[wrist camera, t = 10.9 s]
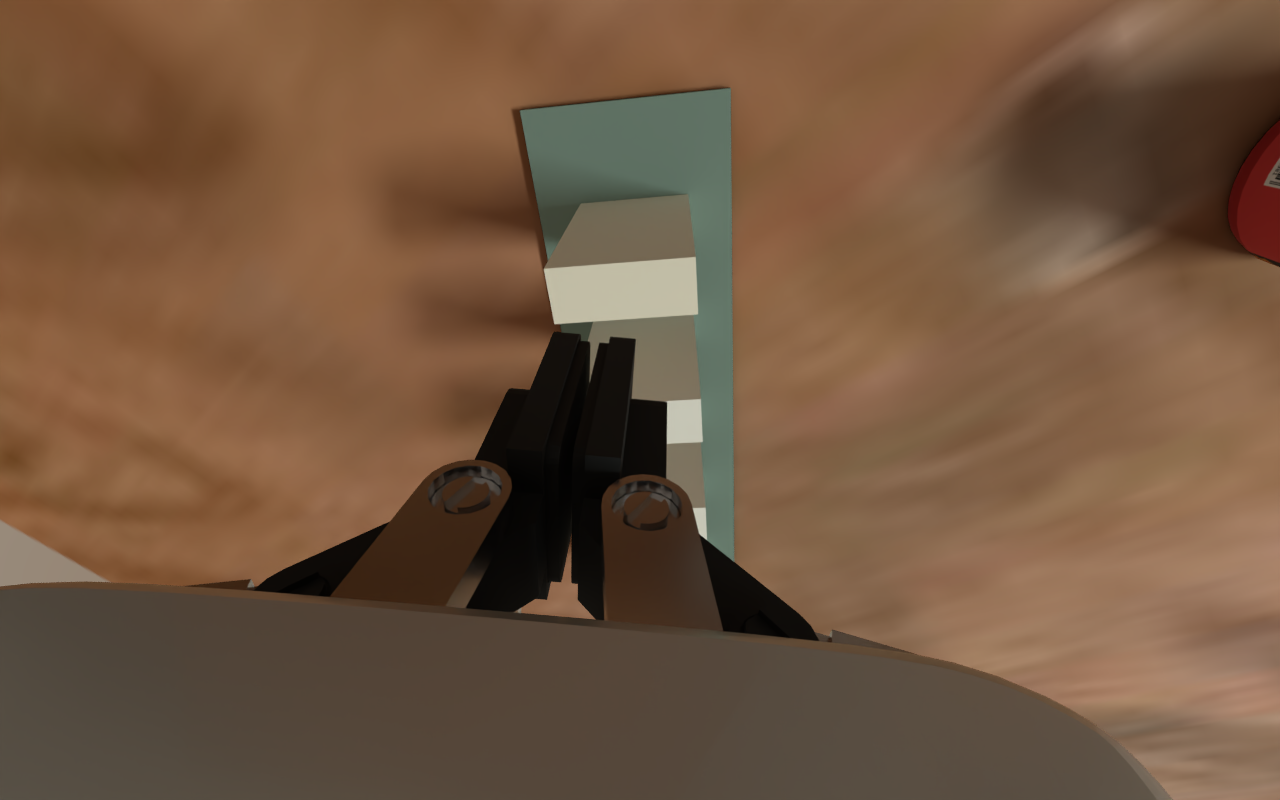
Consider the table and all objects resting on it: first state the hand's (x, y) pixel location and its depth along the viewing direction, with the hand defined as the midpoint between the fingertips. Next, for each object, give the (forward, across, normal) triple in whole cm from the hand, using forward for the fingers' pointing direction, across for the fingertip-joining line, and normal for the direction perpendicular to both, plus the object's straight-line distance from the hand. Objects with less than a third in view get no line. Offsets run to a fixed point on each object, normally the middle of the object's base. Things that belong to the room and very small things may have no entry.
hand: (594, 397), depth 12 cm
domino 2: (+17, -1, +6) cm, 18 cm away
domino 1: (+17, 0, +1) cm, 17 cm away
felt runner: (+17, -2, +12) cm, 21 cm away
